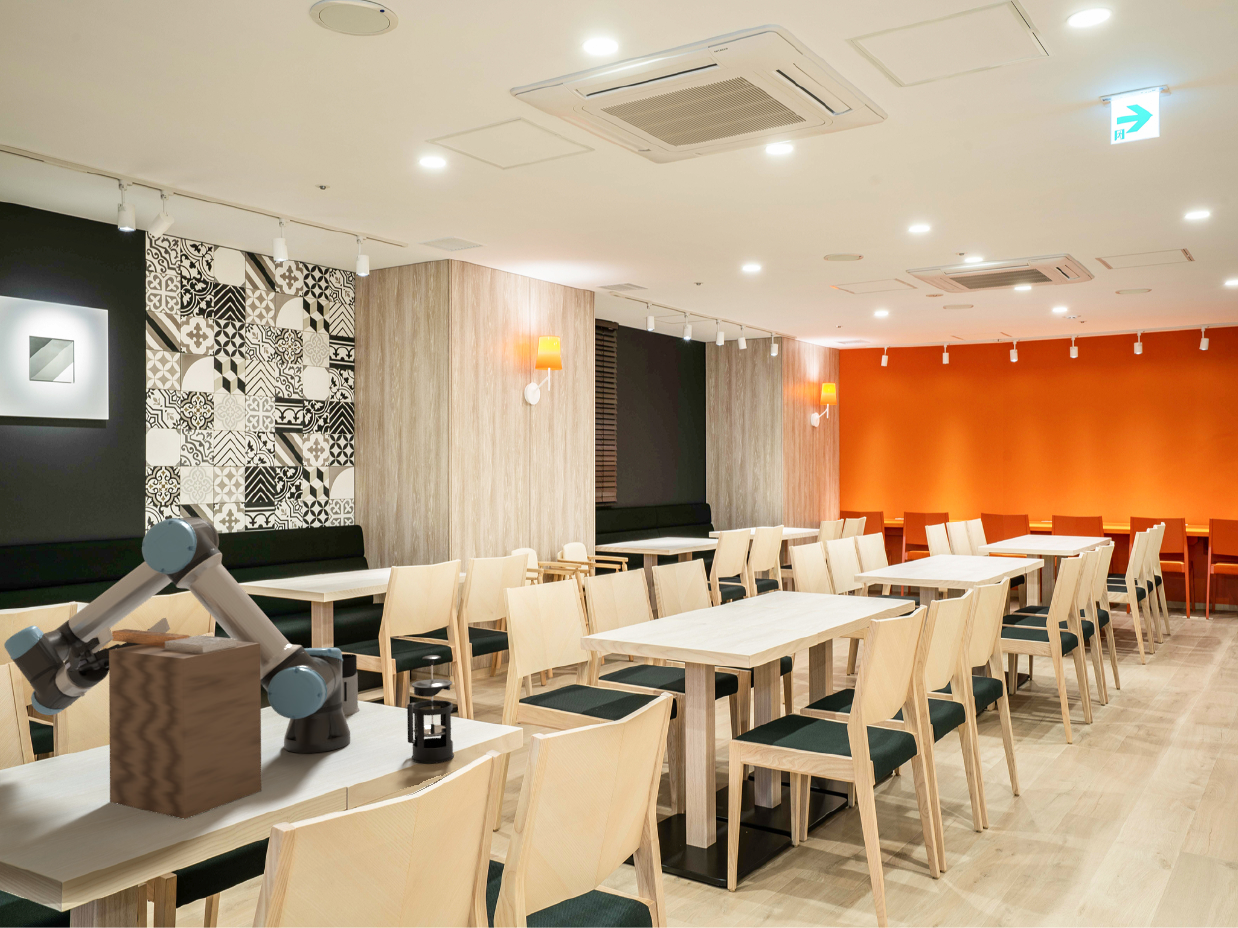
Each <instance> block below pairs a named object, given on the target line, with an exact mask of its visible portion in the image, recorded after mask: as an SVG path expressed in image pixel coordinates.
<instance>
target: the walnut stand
mask: <svg viewBox="0 0 1238 928" xmlns="http://www.w3.org/2000/svg"><path fill="white" fill-rule="evenodd" d="M189 637H192V636H190V635H189ZM108 676H109V677H108V679H109V681H108V685H109V692H108V693H109V696H108V697H109V700H108V701H109V702H108V703H109V704H108V705H109V706H108V707H109V708H108V709H109V711H108V713H109V715H108V716H109V719H108V720H109V802H110V803H112V802H113V804H116V803H118V804H117V805H121V804H122V805H121V806H125V805H126V807H129V806H130V807H131V808H133V809H134V808H135V809H139V810H144V811H147V812H151V811H152V813H156V812H157V813H156V814H160V813H161V815H164V814H166V815H165V816H169V815H170V817H173V816H174V818H177V817H179V818H178V819H182V818H184V819H183V820H186V818H187V819H189V818H192V817H195V816H197V815H200V814H202V812H203V813H205V812H208V811H210V809H211V810H213V808H214V809H216V808H218V806H219V807H221V805H222V806H224V805H227V804H229V802H230V803H232V802H235V801H237V799H238V800H240V799H243V798H245V796H246V797H247V796H248V797H249V796H251V795H253V794H256V793H259V792H262V704H261V703H262V702H261V701H262V697H261V695H262V694H261V692H262V691H261V687H262V684H261V675H260V643H253V642H242V641H237V647H234V648H229V649H224V650H219V651H214V652H209V653H204V654H201V653H192V652H183V651H174V650H165V646H157V645H148V644H141V645H135V646H129V647H124V648H118V649H112V650H109V672H108ZM242 797H243V798H242ZM234 800H235V801H234ZM226 803H227V804H226ZM194 815H195V816H194ZM191 816H192V817H191ZM188 817H189V818H188Z"/></svg>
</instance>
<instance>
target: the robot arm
mask: <svg viewBox="0 0 1238 928" xmlns="http://www.w3.org/2000/svg"><path fill="white" fill-rule="evenodd" d="M141 544H142V545H141V546H142V547H141V553H142V557H143V559H144V561H143V562H142V563H141V564H140V565H138V566H137V567H135V568H134V569H133V570H131V571H130V572H129V573H127V574H126V575H125V576H123V577H122V578H121V579H119V580H118V581H117V582H116V583H115V584H113V585H111V587H109V588H108V589H107V590H105V591H104V592H103V593H101V594H100V595H99V596H97V597H96V598H95V599H94V600H91V602H89V603H88V604H87V605H86V606H84V607H83V608H82V609H81V610H79V611H78V612H77V613H75V614H74V615H73V616H71V617H70V618H69V619H68V620H66V621H65V622H63V623H62V624H61V625H60V626H58V627H57V628H56V629H54V630H51V631H48V632H45V633H44V632H43V631H42V629H40V628H39V627H38V626H37V625H29V626H27V627H25V628H23V629H21V630H20V631H18V632H16V633H14V634H13V635H12V636H10V637H9V638H7V639H6V640H5V642H4V645H3V646H4V649H5V650H6V652H7V653H8V655H9V656H10V657H9V658H10V659H11V660H12V661H13V662H14V664H15V665H16V666H17V668H18V670H19V671H20V672H21V673H22V674H23V676H24V677H25V679H26V680H27V681H28V683H29V684H30V686H31V688H32V689H33V692H32V693H31V696H30V699H31V700H30V701H31V706H32V708H33V709H34V710H36V712H38V713H39V714H41V715H46V716H54V715H57V714H59V713H61V712H62V711H64V710H65V709H67V708H68V707H70V706H72V705H73V704H74V703H75V702H76V701H77V700H79V698H81V697H84V696H85V695H86V693H87V692H88V691H90V690H91V689H92V688H93V687H95V686H97V684H99V683H100V682H101V681H103V680H105V678H106V677H107V676H108V675H109V650H112V649H118V648H124V647H129V646H135V645H141V644H139V643H129V642H123V643H122V644H121V643H120V644H119V643H116V644H115V645H112V646H109V647H107V648H104V647H106V645H107V644H109V643H110V642H112V639H114V638H113V636H112V631H111V629H112V628H113V627H114V626H115V625H117V624H118V623H119V622H121V621H122V620H123V619H125V618H126V617H127V616H129V615H130V614H131V613H133V612H134V611H135V610H136V609H138V608H139V607H140V606H142V605H143V604H144V603H146V602H147V601H148V600H149V599H151V598H152V597H154V596H155V595H156V594H157V593H159V592H160V591H162V590H163V589H164V588H165V587H167V586H169V585H170V583H173V584H174V586H175V587H176V588H179V589H187V590H189V591H190V592H191V594H192V595H193V596H194V597H195V599H197V601H198V602H199V603H200V605H202V606H203V608H204V609H206V611H207V612H208V614H209V615H211V617H212V618H213V619H214V620H215V621H216V623H217V624H218V625H219V626H220V627H221V628H222V629H223V630H224V632H225V633H226V634H227V635H228V637H229V638H233V639H237V641H242V642H253V643H260V675H261V687H263V688H264V690H266V692H267V700H268V703H269V705H270V707H271V708H272V710H273V711H274V712H275V713H277V714H278V715H279V716H281V717H284V718H286V719H289V722H288V725H287V728H286V731H285V734H284V738H283V748H284V750H286V751H287V752H292V753H298V754H299V753H301V754H310V753H311V754H313V753H323V752H329V751H334V750H339V749H341V748H344V747H346V746H347V745H349V744H350V743H351V730H350V728H349V724H348V722H347V719H346V715H344V713H343V708H342V663H343V659H342V654H343V653H342V652H343V651H342V650H341V649H340V648H338V647H309V648H308V647H306V648H304V647H303V645H301V644H292V643H291V642H290V641H289V640H288V639H287V638H286V637H285V636H284V635H283V634H282V632H281V631H280V630H279V629H278V628H277V626H275V624H274V623H273V622H272V620H270V619H269V617H268V616H267V615H266V614H265V613H264V611H263V610H262V609H261V608H260V606H258V605H257V603H256V602H255V601H254V600H253V599H252V598H251V596H249V594H248V593H247V592H246V591H245V590H244V589H243V587H242V586H241V585H240V584H239V583H238V582H237V580H236V579H235V578H234V576H233V575H232V574H230V572H229V570H227V568H226V567H225V566H223V564H222V559H223V553H222V551H220V550H219V546H220V545H219V544H220V539H219V532H218V531H217V529H216V528H215V526H214V525H213V524H212V523H211V522H209V521H208V520H206V519H204V518H202V517H197V516H187V517H181V518H177V517H172V518H167V519H164V520H162V521H159V522H157V523H155V524H154V525H152V526H151V527H150V528H149V529H148V530H147V532H146V533H145V536H143V539H142V543H141ZM169 630H171V628H170V625H169V623H168V619H167V617H163V618H161V619H160V620H159V621H157V622H156V623H155V624H153V625H152V626H151V627H150V628H148V629H147V630H146V631H151V632H161V633H168V632H169ZM102 648H103V649H102Z"/></svg>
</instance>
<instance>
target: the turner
mask: <svg viewBox="0 0 1238 928" xmlns="http://www.w3.org/2000/svg"><path fill="white" fill-rule="evenodd" d="M111 633H112V636H113V638H114V639H112V640H111V642H121V643H126V642H129V643H139V644H148V645H157V646H165V650H174V651H183V652H192V653H201V654H204V653H209V652H214V651H219V650H224V649H229V648H234V647H237V639H233V638H231V637H223V636H222V637H220V636H213V635H212V636H209V635H200V634H199V635H194V636H191V637H189V636H190V635H189V634H181V633H170V632H169V633H168V632H166V633H161V632H151V631H147V630H137V629H129V628H123V629H119V630H112V631H111Z"/></svg>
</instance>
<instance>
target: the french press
mask: <svg viewBox="0 0 1238 928" xmlns="http://www.w3.org/2000/svg"><path fill="white" fill-rule="evenodd" d="M441 658H442V656H440V655H436V654H435V655H433V654H431V655H425V656H423V657H422V660H424V661H425V660H427V661H429V666H430V674H431V675H430V679H424V680H423V679H421V680H418V681H415V682H412V684H411V687H412V688H413V695H414V696H416V697H423V698H425V697H426V698H428V697H429V698H430V697H431V698H430V699H431V700H423V701H418V702H411V703H408V704H407V706H406V707H407V711H406V712H407V716H406V717H407V743H409V744H412V756H411V761H412V762H414V763H415V764H420V765H421V764H422V765H424V764H426V765H434V764H441V763H446V762H448V761H451V760H453V759H454V757H455V754H454V741H453V740H452V727H451V725H452V721H451V720H452V716H451V715H452V711H453V702H451V701H448V700H440V699H435V700H434V697H435V696H436V695H438V694H439V693H440V692H441V691H443V690H446V691H451V686H452V685H453V681H452V680H451V679H450V680H449V679H441V678H440V679H439V678H434V676H433V674H434V667H433V666H434V665H435V661H436V660H441ZM426 707H427V709H424V708H426ZM428 707H431V709H429V708H428ZM434 707H439V708H434ZM439 715H440V724H434V716H439ZM425 716H431V724H430V725H429V724H427V725H425Z"/></svg>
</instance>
